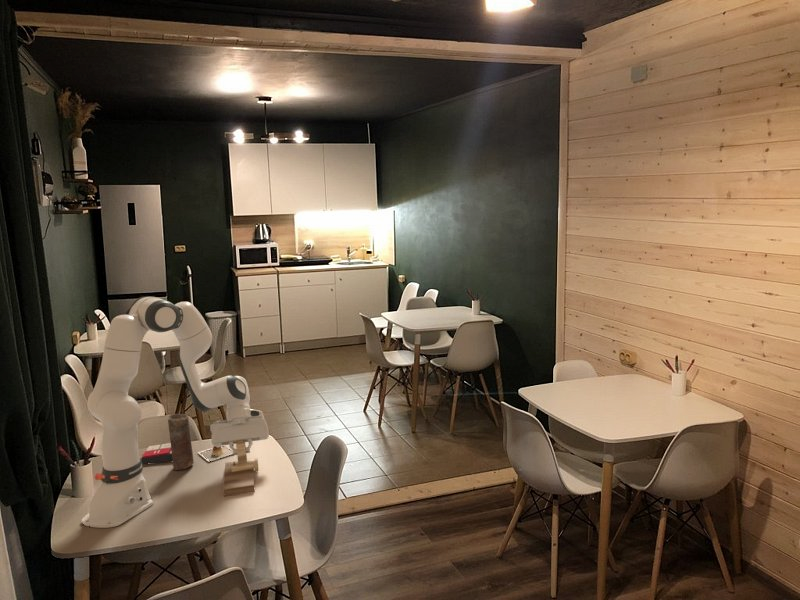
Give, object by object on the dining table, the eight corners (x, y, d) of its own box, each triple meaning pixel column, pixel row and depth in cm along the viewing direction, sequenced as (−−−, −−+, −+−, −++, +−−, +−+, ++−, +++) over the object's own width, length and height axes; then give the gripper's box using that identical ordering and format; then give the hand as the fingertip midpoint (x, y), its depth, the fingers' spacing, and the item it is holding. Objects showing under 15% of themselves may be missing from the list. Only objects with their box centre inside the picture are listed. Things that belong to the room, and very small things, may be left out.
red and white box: (147, 445, 250) (186, 439, 252) (149, 455, 251) (188, 449, 253) (140, 456, 240) (180, 450, 241) (142, 467, 240) (182, 461, 242)
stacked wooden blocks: (258, 471, 226) (255, 443, 224) (232, 475, 224) (228, 447, 222) (258, 464, 232) (255, 437, 230) (232, 468, 230) (229, 441, 228)
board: (254, 491, 213) (253, 484, 213) (224, 496, 211) (223, 489, 211) (253, 464, 234) (253, 458, 234) (226, 469, 232) (225, 462, 232)
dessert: (197, 454, 248) (195, 443, 247) (226, 445, 255) (225, 434, 254) (208, 464, 238) (207, 452, 237) (238, 454, 245) (237, 443, 245)
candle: (184, 461, 241) (177, 411, 238) (198, 463, 238) (192, 413, 234) (169, 469, 235) (162, 418, 231) (183, 472, 231) (177, 421, 228)
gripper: (209, 418, 229) (210, 454, 221) (266, 410, 233) (269, 445, 225) (211, 425, 234) (212, 461, 226) (267, 418, 238) (270, 452, 231)
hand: (241, 453), depth 226 cm, fingers closed on stacked wooden blocks, 3 cm apart
